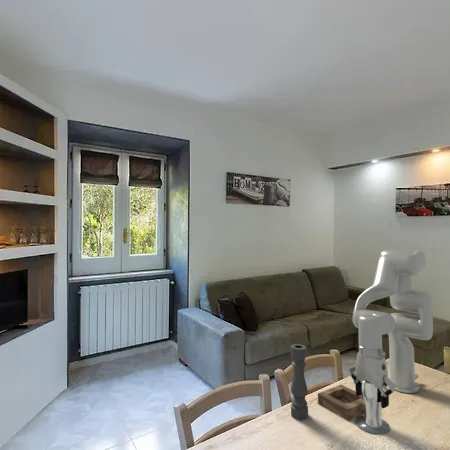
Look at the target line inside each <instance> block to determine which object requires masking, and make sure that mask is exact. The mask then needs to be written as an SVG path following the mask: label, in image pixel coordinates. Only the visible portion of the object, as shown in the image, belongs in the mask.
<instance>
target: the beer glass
mask: <svg viewBox="0 0 450 450" xmlns="http://www.w3.org/2000/svg"><path fill="white" fill-rule="evenodd" d="M361 383H362V384H361V393H362V400H363V405H364V414H363V415H364V420H363V422H364V424H365V425H366V426H368V427H370V428H374V429H379V428H381V427H382V426H383V424H382V419H383V418H382V409H383V408H382V407H381V396H382V393H381V392H380V390H379V389H378V388H375V387H374V384H371V383H367V382H365V381H364V380H362V382H361Z"/></svg>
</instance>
